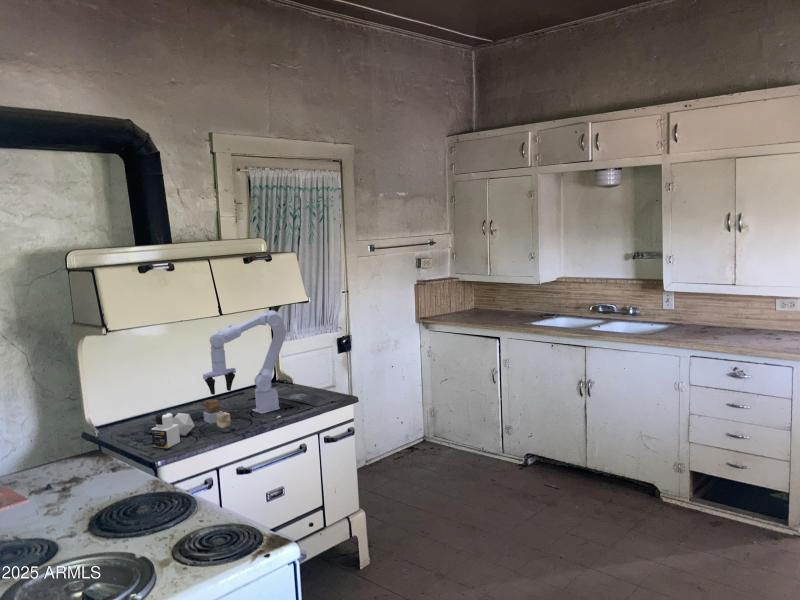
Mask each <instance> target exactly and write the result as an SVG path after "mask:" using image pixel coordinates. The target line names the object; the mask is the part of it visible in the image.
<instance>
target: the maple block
mask: <svg viewBox="0 0 800 600" xmlns="http://www.w3.org/2000/svg"><path fill="white" fill-rule="evenodd" d="M222 412H223V413H220V414H216V420H217V422H216V427H218V428H221V429H223V428H227V427H231V426H232V425H231V424H232V423H231V414H230V413H229V412H225V411H222Z"/></svg>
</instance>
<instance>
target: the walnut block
mask: <svg viewBox="0 0 800 600" xmlns="http://www.w3.org/2000/svg"><path fill="white" fill-rule="evenodd" d="M204 406H205V412H206V413H209V414H213V413H216V412H220V411H221V410H220V400H219V399H216V398H211V399H206V400H204ZM219 410H220V411H219Z"/></svg>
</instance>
